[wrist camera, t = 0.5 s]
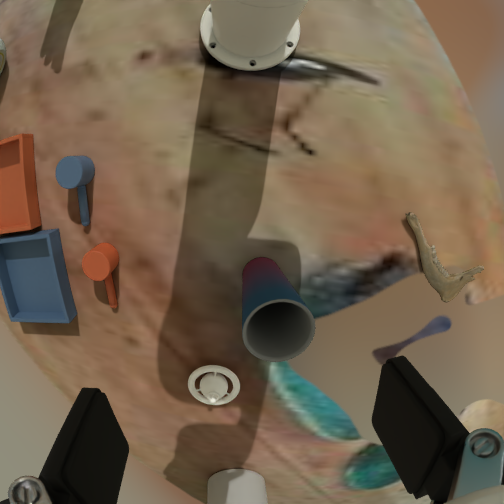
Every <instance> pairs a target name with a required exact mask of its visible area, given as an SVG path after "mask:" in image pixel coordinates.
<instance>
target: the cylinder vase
mask: <svg viewBox="0 0 504 504" xmlns="http://www.w3.org/2000/svg"><path fill="white" fill-rule="evenodd" d="M207 503H208V504H268V501H267V494H266V487H265V481H264V478H263V477H262V476H261V475H260V474H258V473H257V472H254V471H251V470H247V469H228V470H223V471H220V472H217V473H215V474H214V475H212V476H211V477H210V478H209V480H208V492H207Z"/></svg>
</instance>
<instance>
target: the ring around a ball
mask: <svg viewBox="0 0 504 504" xmlns="http://www.w3.org/2000/svg"><path fill="white" fill-rule="evenodd" d="M207 372H212V373H208V374H206V375H205V376H204V377H203V378H202V379H201V381H200V389H198V390H196V388H195V380H196V379H197V377H198V376H200V375H201V374H203V373H207ZM217 372H218V373H217ZM219 373H222V374H224V375H226V376H227V377H229V378H230V379H231V381H232V383H233V390H232V392H231V393H230V394H229V393H227V390H228V383H227V380H226V379H225V377H224V376H223V375H221V374H219ZM188 388H189V391H190V393H191V394H192V395H193V396H194V397H195V398H196V399H197V400H199V401H201V402H203V403H206V404H210V405H221V404H225V403H228V402H230V401H232V400H233V399H234V398H235V397H236V396H237V395H238V393H239V390H240V382H239V379H238V378H237V376H236V375H235V374H234V373H233V372H232V371H231V370H229V369H227V368H225V367H222V366H218V365H207V366H203V367H200V368H198V369H196V370H195V371H194V372H193V373H192V374H191V375H190V377H189V379H188ZM198 391H201V392H202V394H203V395H204V396H203V395H201V394H200V393H199V392H198ZM225 394H227V396H226V397H223V396H224V395H225ZM221 397H223V398H221Z"/></svg>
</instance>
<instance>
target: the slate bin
mask: <svg viewBox="0 0 504 504" xmlns="http://www.w3.org/2000/svg"><path fill="white" fill-rule="evenodd" d="M0 288H1V291H2V295H3V298H4V301H5V305H6V308H7V311H8V314H9V317H10V320H11V321H13V322H39V323H70V322H71V321H72V320H73V318H74V317H75V316H76V315H77V312H76V308H75V304H74V300H73V296H72V292H71V288H70V284H69V280H68V275H67V271H66V266H65V261H64V256H63V251H62V245H61V240H60V234H59V229H51V230H43V231H35V232H28V233H20V234H13V235H6V236H0Z"/></svg>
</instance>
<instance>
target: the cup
mask: <svg viewBox="0 0 504 504" xmlns="http://www.w3.org/2000/svg"><path fill="white" fill-rule="evenodd" d="M314 334H315V321H314V317H313V315H312V313H311V312H310V310H309V309H308V307H307V306H306V305H305V303H304V302H303V300H302V299H301V298H300V296H299V295H298V293H297V292H296V291H295V289H294V288H293V286H292V285H291V284H290V282H289V281H288V279H287V278H286V277H285V275H284V274H283V272H282V271H281V270H280V268H279V267H278V266H277V264H276V263H275V262H274V261H273V260H271V259H269V258H265V257H259V258H255V259H253V260H251V261H250V262H249V263H247V265H246V266H245V268H244V270H243V287H242V337H243V342H244V344H245V346H246V348H247V349H248V350H249V352H250V353H251V354H253V355H254V356H255V357H257V358H259V359H261V360H265V361H270V362H281V361H286V360H289V359H292V358H294V357H296V356H298V355H299V354H301V353H302V352H303V351H304V350H305V349H306V348H307V347H308V346H309V344H310V343H311V341H312V339H313V337H314Z"/></svg>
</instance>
